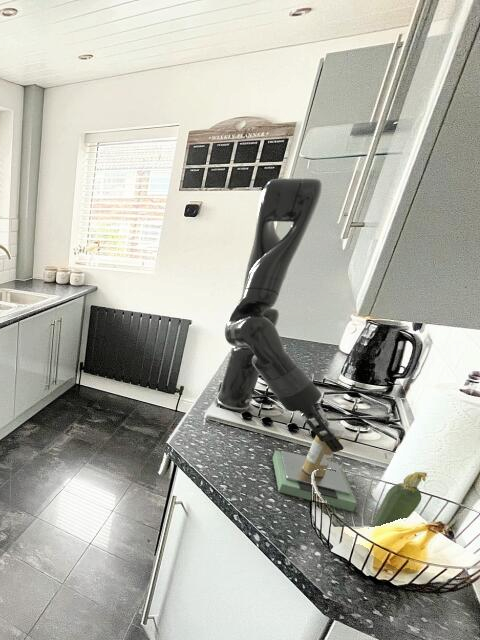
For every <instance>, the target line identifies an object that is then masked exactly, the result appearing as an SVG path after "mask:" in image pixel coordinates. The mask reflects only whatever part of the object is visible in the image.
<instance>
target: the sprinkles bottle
mask: <svg viewBox="0 0 480 640" xmlns="http://www.w3.org/2000/svg"><path fill="white" fill-rule="evenodd" d="M328 422H329V423H330V427H329V428H330V429H331V431H332V432H333V433H334V435H335V437H336V438H337V439H338V441H339V442H340V439H341V437H342V436H343V435H344V434H345V431H346V427H345V426H344V425H343V424H342V423H339V422H337V421H334V420H329V419H328ZM324 423H325V422H324ZM320 433H321V434H325V433H327V431H322V432H320ZM334 454H335V452H332V451H331V449H330V448H329V447H328V445H327V444H326V443H325V442H322V441H320V440H319V438H318V436H317V435H316V434H315V437H314V439H313V441H312V443H311V446H310V448H309V450H308V453H307V455H306V456H307V459H306V461H305V464H304V465H303V467H302V469H303V470H304V471H305V472H306V473H308V474H310V475H311V473H312V472H313V471H314V470H317V469H327V467H328V465H329V463H330V462H332V458H333V457H334ZM325 472H326V470H319V471H318V472H317V473H316V475H315V476H316V477H323V476H324V475H325Z"/></svg>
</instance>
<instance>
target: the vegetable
mask: <svg viewBox="0 0 480 640" xmlns="http://www.w3.org/2000/svg"><path fill="white" fill-rule="evenodd" d="M428 477H429V476H428V475H427V472H423V471H415V472H414V473H411V474H408V475H407V476H405V477H404V479H403V482H400V483H396V484H394V485H393V486H391V488H390V489H389V490H388V491H387V492H386V494H385V496H384V498H383V500H382V502H381V504H380V507H379V509H378V510H377V512H376V515H375V516H374V518H373V520H372V521H371V523H370V525H369V526H368V528H369V527H375V526H381V525H383V524H386V523H390V522H393V521H395V520H398V519H400V518H401V519H403V518H407V519H408V518H410V516H411V515H412V514H413V513H414V511H415V510H416V509H417V508H418V506H419V505H420V503H421V501H422V493H421V491H420V490H419V485H420V483H421V482H422V481H423V482H426V480H427V478H428Z"/></svg>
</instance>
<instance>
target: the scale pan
mask: <svg viewBox="0 0 480 640" xmlns="http://www.w3.org/2000/svg"><path fill="white" fill-rule="evenodd" d="M279 452H280V455H281V459H282V464H283V469H284V473H285V478H286V480H289V481H293V482H297V483H302V484H306V485H310V486H311V475H310V474H308V473H306V472H305V471H304V470H303V469H302V467H303V465H304V464H305V461H306V459H307V455H303V454H298V453H294V452H289V451H286V450H280V451H279ZM327 468H331V469H334V470H336V471H338V472H339V473H337V472H335V471H330V470H326V472H325V475H324V476H323V477H316V476H315V481H316V485H317V487H318V488H322V489H325V490H329V491H333V492H336V493H340V494H344V495H348V496H349V495H350V491H349V489H348V487H347V484H346V482H345V479H344V477H343V475H342V472H341V470H340V467H339V463H338V462H337V463H336V462H333V461H330V463H329V465H328V467H327Z"/></svg>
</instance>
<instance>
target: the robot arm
mask: <svg viewBox="0 0 480 640" xmlns="http://www.w3.org/2000/svg"><path fill="white" fill-rule="evenodd" d="M322 188H323V183H322V181H321V179H318V178H273V179H270V180H269V181H268V182H267V183H266V184H265V186H264V188H263V190H262V192H261V195H260V199H259V203H258V210H257V217H256V224H255V231H254V238H253V243H252V247H251V250H250V254H249V258H248V261H247V267H246V271H245V276H244V282H243V288H242V292H241V297H240V299H239V301H238V302H237V304H236V305H235V307H234V309H233V311H232V312H231V314H230V316H229V318H228V320H227V322H226V323H225V328H224V337H225V340H226V342H227V343H228V344H229V345H231V346H232V347H231V349H230V354H229V358H228V359H227V360H228V361H227V364H226V368H225V371H224V374H223V379H222V382H219V386H218V389H217V392H218V395H217V398H216V403H217V404H218V405H219V406H221V407H222V408H225V409H226V410H227V409H228V410H231V411H238V412H243V411H248V410H249V409H250V404H251V402H252V401H253V399H254V398H253V396H254V392H255V389H256V387H257V384H258V383H257V382H258V380H259V376H260V377H261V378H262V379H263V380H264V381H265V383H266V385H267V387H268V388H269V390H270V391H271V392H272V393H273V395H274V396H275V397H276V398H277V400H278V401H279V402H280V404H281V405H282V406H283V407H284V409H285V410H286V411H288V412H299V413H300V416H301V418H302V419H303V421H304V422H305V423H306V424H307V425H308V427H309V428H310V430H312V432H313V433H314V434H315V436H316V435H317V436H318V438H319V440H320V441H322V442H325V443H326V444H327V445H328V447H329V448H330V449H331V451H332V452H334V453H337V452H340V451H343V450H344V449H345V447H344V445H343V444H342V443H341V442H340V440H339V441H338V439H337V438H336V437H335V435H334V433H333V432H332V431H331V429H330V428H329V427H330V423H329V422H328V420H329V419H328V417H327V414H326V412H325V411H324V409H323V407H322V406H321V405H320V403H319V401H320V400H321V397H322V393H321V391H320V390H319V389H318V387H317V386H316V385H315V384H314V382H313V381H312V380H311V378H309V376H308V375H307V374H306V372H305V371H304V370H303V369H302V368H301V367H300V366H299V365H298V364H297V363H296V361H295V360H294V359H293V358H292V357H291V356H290V354H289V353H288V352H287V350H285V347H284V344H283V341H282V339H281V336H280V334H279V332H278V330H277V326H278V325H277V324H278V322H279V317H280V313H279V311H278V309H276V308H273V307H274V306H275V304H276V302H277V301H278V298H279V296H280V293H281V290H282V286H283V284H284V282H285V280H286V278H287V273H288V270H289V268H290V265H291V263H292V261H293V260H294V257H295V255H296V253H297V251H298V249H299V247H300V245H301V243H302V241H303V240H304V236H305V235H306V232H307V230H308V228H309V226H310V224H311V221H312V218H313V216H314V214H315V212H316V209H317V208H318V204H319V201H320V197H321V194H322ZM275 222H279V223H282V222H283V223H292V224H291V226H290V228H289V230H288V231H287V232H286V233H285V235H284V237H282V239H281V238H280V236H279V234H278V233H277V230H276V227H275ZM324 422H325V423H324ZM322 431H327V433H325V434H321V433H320V432H322Z"/></svg>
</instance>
